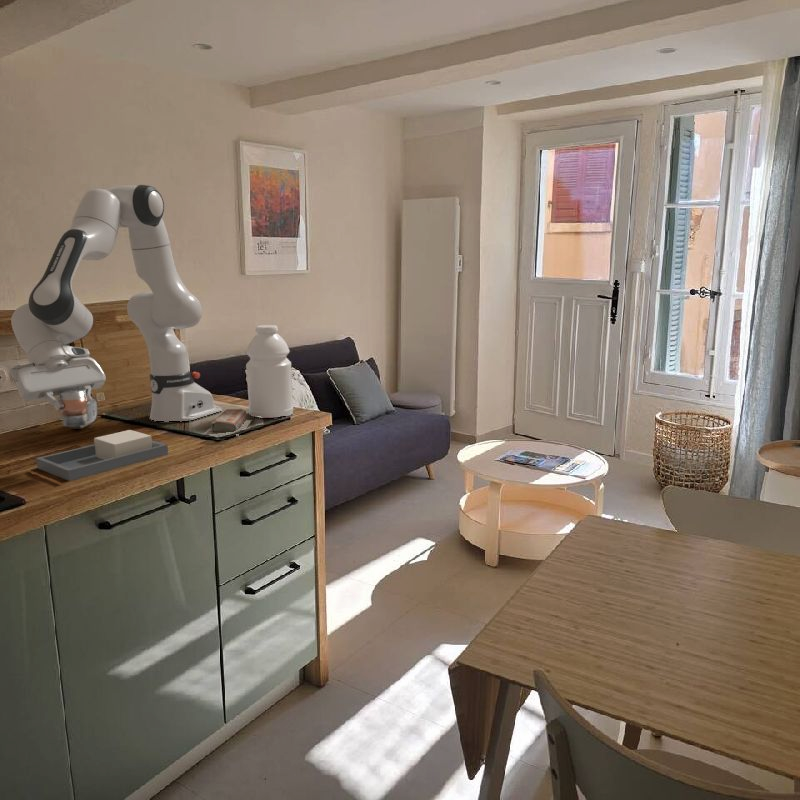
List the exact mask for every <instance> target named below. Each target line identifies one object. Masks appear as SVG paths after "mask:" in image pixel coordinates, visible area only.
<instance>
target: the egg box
mask: <svg viewBox="0 0 800 800" xmlns="http://www.w3.org/2000/svg"><path fill="white" fill-rule="evenodd" d="M93 441H94V444H95V451H96V457H98V458H101V459H104V460H106V459H110V458H114V457H118V456H122V455H125V454H129V453H133V452H137V451H141V450H145V449H149V448H152V441H153V439H152V435H149V434H146V433H143V432H139V431H136V430H132V429H127V430H122V431H120V432H114V433H110V434H106V435H102V436H97V437H93Z"/></svg>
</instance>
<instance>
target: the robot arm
mask: <svg viewBox="0 0 800 800" xmlns="http://www.w3.org/2000/svg"><path fill="white" fill-rule="evenodd" d="M164 213H165V202H164V199H163V196H162V194H161V193H160V192H159V190H157V188H156V187H155V186H152V185H149V184H148V185H147V184H139V185H133V184H132V185H131V184H127V185H124V184H123V185H118V186H112V187H108V188H97V187H96V188H91V189H89V190H88V191H87V192H85V193H84V195H83V197H82V198H81V200H80V201H79V203H78V206H77V208H76V211H75V213H74V216H73V219H72V222H71V225H70V227H69V230H67V231H66V232H64V233H63V234H62V236H61V238H60V239H59V241H58V243H57V245H56V247H55V249H54V250H53V251H54V252H53V254H52V256H51V257H50V260H49V262H48V265H47V267H46V269H45V271H44V273H43V275H42V277H41V278H40V280H39V282H38V283H37V284H36V285H35V286H34V288H33V289H32V291H30V295H29V297H28V303H25V304H22V305H20V306H19V307H18V308H16V309H15V310H14V311H13V313H12V315H11V318H10V319H11V320H10V321H11V322H10V323H11V328H12V331H13V333H14V336H15V338H16V341H17V343H18V344H19V346H20V348H21V349H22V350H24V351H25V356H26V358H27V361H28V363H27V364H22V365H14V366H13V367H12V368H10V370H9V375H10V377H11V379H12V381H14V382H15V386H16V389H17V393H18V394H19V396H20V397H19V398H21V399H22V400H24V401H25V402H26V401H27V402H28V401H35V400H39V399H43V400H45V401H46V402H47V403H48V404H50V405H51V406H53V407H54V409H55V410H56V411H61V409H63V407H64V404H63V403H62V400H60V399H57V398H56V397H57V396H60V393H59V392H61V391H64V390H70V389H84V390H85V394H86V401H87V405H88V404H92V402H93V399H92V397H93V396H91V395H92V390H96V389H102V387H104V384H105V383H106V380H107V378H106V374H105V372H104V371H103V369H102V367H101V366H100V364H99V363H98V362H97V361H96V360H95V359H94V358H93V357H90V355H91V353H90V351H89V349H88V348H84V347H78V346H77V347H76V346H70V344H72V343H75V342H76V341H79V340H81V339H83V338H85V337H86V336H87V335H88V334H89V333H90V332H91V331H92V328H93V326H94V315H93V314H92V312H91V311H90V310H89V309H88V308H87V307H86V306H85V304H84V303H83V302H81V300H80V299H79V298H77V296H76V295H75V293H74V291H73V286H72V284H73V281H74V277H75V276H76V273H77V271H78V268H79V265H80V264H81V261H82V260H86V261H100V260H103V259H106V258H107V257H108V256H109V255H110V254H111V253H112V251H113V249H114V246H115V244H116V239H117V235H118V231H119V228H128V238H129V243H130V244H129V245H130V248H131V254H132V258H133V261H134V267H135V271H136V274H137V277H139V278H140V279H141V280H142V281H143V282H144V283H146V285H147V286H148V288H149V289H150V290H151V291H144V292H139V293H136V294H134V295H132V296H131V297H130V298H129V300H128V302H127V306H126V312H127V313H126V314H127V316H128V318H129V319H130V321H131V322H132V323H133V324H134V325H135V326H136V327H137V328H138V329H139V332H140V333H141V335H142V337H143V339H144V342H145V344H146V348H147V352H148V357H149V358H148V359H149V366H150V374H149V384H150V390H151V409H150V415H149V420H150V419H151V420H150V421H152V420H154V421H153V422H156V421H164V422H163V423H170V422H169V421H180V422H182V421H188V420H193V419H197V418H200V417H203V416H206V417H208V416H207V415H209V414H213V413H216V412H219V411H222V412H223V409H222V407H221V406H219V405H216V404H215V400H214V396H213V395H212V393H211V392H210V391H209V390H207V389H205V388H204V387H202V386H201V385H199V384H198V383H196V382H195V380H194V379H196V380H197V379H200V377H201V374H200V372H197V371H193V372H192V371H189V364H188V354H187V348H186V345H185V344H184V343H183V342H182V341H181V340H180V339H179V338H178V337H177V335H176V333H175V331H174V329H175V330H184V329H188V328H193V327H195V326H197V325H198V324H199V322H201V319H202V316H203V307H202V304H201V302H200V300H199V299H198V297H196V296H195V295H193V293H192V292H190V291H189V289H188V288H187V287H186V286H185V284H184V283H183V280H182V279H181V277H180V275H179V273H178V271H177V268H176V264H175V260H174V256H173V255H174V254H173V251H172V247H171V242H170V238H169V237H170V236H169V233H168V230H167V227H166V224H165V222H164V219H163V215H164ZM219 413H220V412H219ZM216 414H217V413H216ZM213 415H214V414H213ZM203 418H204V417H203ZM200 419H201V418H200ZM197 420H198V419H197Z"/></svg>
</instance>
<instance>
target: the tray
mask: <svg viewBox="0 0 800 800" xmlns="http://www.w3.org/2000/svg"><path fill="white" fill-rule="evenodd" d="M167 455H169V448H168V444H165V443H163V442H160V441H159V442H158V441H155V440H152V448H149V449H145V450H141V451H137V452H133V453H129V454H125V455H122V456H118V457H114V458H110V459H106V460H104V459H101V458H98V457H96V451H95V443H94V444H90V445H85V446H82V447H77V448H73V449H70V450H65V451H60V452H57V453H52V454H48V455H45V456H39V457H36V458H35V460H36V468H37V469H38V470H41V471H43V472H46V473H48V474H51V475H53V476H56V477H59V478H61V479H64V480H65V481H68V482H72V481H76V480H79V479H82V478H87V477H90V476H95V475H97V474H100V473H101V474H102V473H105V472H109V471H112V470H116V469H120V468H122V467H123V468H124V467H127V466H131V465H135V464H139V463H141V462H145V461H149V460H153V459H156V458H159V457H164V456H167Z"/></svg>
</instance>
